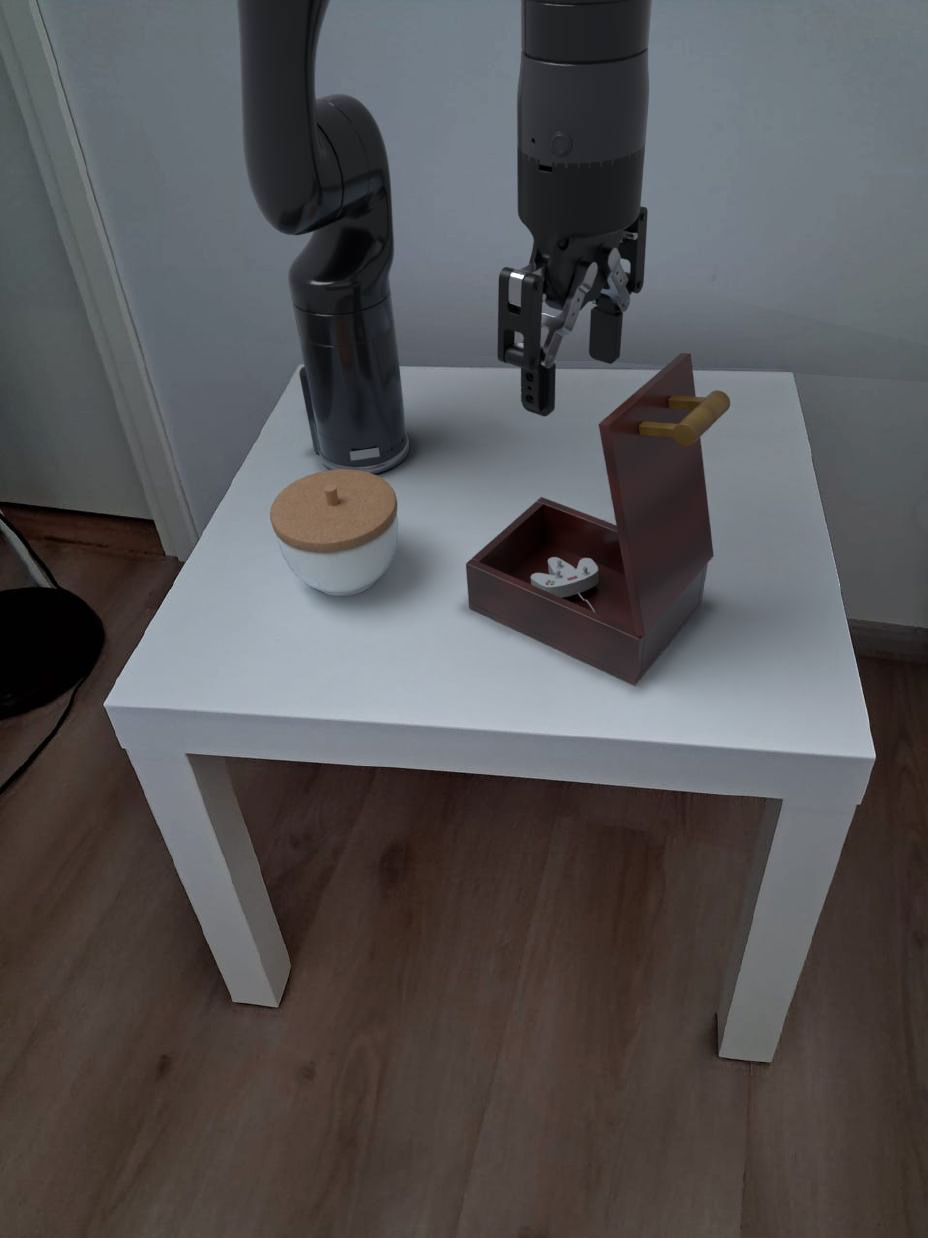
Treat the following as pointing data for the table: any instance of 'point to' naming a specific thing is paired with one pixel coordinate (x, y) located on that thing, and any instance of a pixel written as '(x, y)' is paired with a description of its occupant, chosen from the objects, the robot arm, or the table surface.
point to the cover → (661, 487)
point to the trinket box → (337, 529)
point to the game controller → (567, 577)
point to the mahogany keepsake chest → (570, 620)
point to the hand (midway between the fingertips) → (572, 384)
